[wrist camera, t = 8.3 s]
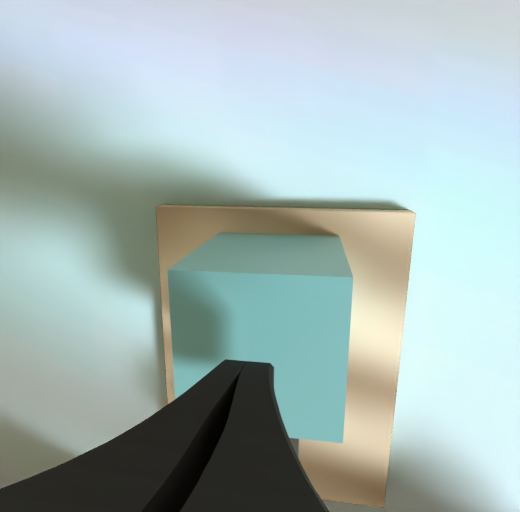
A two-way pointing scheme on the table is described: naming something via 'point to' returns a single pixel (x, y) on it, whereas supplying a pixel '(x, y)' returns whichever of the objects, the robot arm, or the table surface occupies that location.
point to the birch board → (361, 327)
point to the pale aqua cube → (269, 320)
